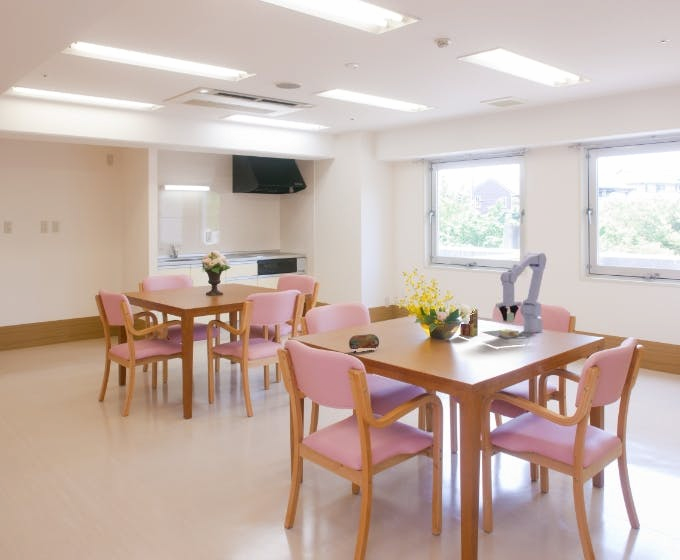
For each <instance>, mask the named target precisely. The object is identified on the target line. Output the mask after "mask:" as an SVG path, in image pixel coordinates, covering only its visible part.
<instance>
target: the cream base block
mask: <svg viewBox="0 0 680 560" xmlns="http://www.w3.org/2000/svg"><path fill="white" fill-rule="evenodd" d="M499 330H500V336H503V337H506V338H509V337H519V335H520V333H519V330H517V329H513V328H505V329H499Z"/></svg>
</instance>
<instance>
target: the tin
mask: <svg viewBox="0 0 680 560" xmlns="http://www.w3.org/2000/svg"><path fill="white" fill-rule="evenodd" d="M379 345H380V340H379V338H378V336H377V335H376V334H373V333H367V334H366V333H365V334H356V335H353V336H351V337H350V339H349V341H348V347H349V349H350V350H351V349H358V348H376V347H377V348H378V347H379Z"/></svg>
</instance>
